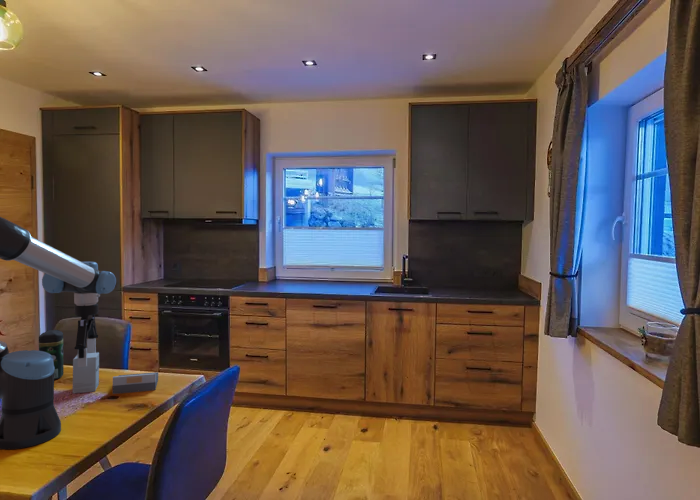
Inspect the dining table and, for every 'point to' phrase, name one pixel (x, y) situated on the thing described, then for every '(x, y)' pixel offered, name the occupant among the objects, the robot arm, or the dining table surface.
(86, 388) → the supplement box
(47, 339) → the coffee jar
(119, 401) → the dining table surface
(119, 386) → the grey display stand
